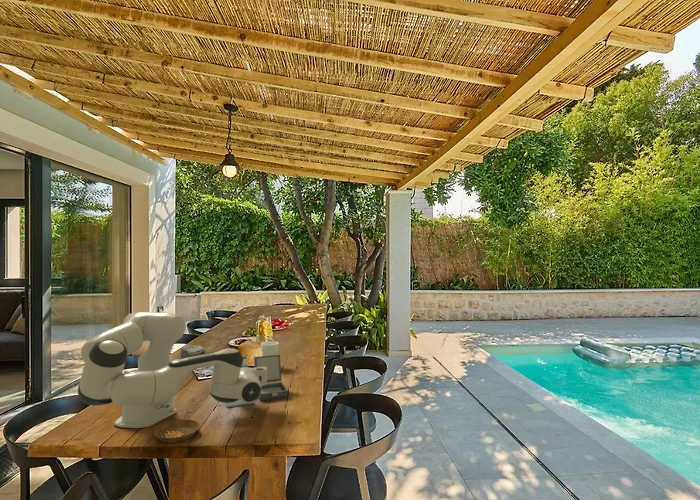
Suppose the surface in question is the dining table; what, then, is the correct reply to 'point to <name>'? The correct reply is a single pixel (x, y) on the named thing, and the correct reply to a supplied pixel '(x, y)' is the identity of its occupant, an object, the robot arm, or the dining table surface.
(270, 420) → the dining table surface
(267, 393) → the case
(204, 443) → the dining table surface
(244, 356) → the block
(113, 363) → the robot arm
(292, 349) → the dining table surface
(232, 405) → the mat
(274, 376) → the grey picture frame
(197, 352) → the decorative stone
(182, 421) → the plant saucer
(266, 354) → the foam cup
